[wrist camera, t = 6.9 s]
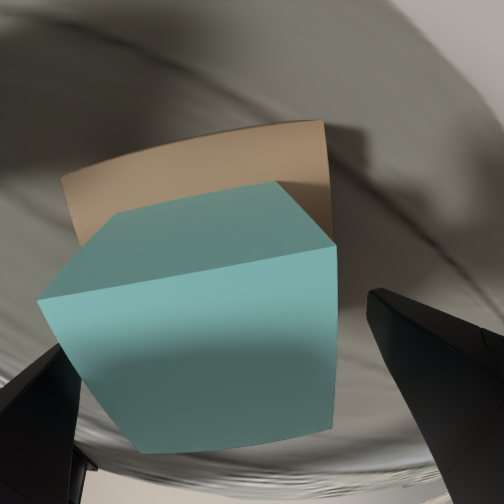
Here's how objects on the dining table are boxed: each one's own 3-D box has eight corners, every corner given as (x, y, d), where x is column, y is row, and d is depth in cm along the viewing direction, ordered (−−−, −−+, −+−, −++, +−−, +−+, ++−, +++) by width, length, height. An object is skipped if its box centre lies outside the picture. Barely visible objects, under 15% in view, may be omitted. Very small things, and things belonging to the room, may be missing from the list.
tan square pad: (318, 305, 17) (335, 339, 14) (147, 336, 16) (138, 372, 14) (301, 120, 13) (323, 120, 10) (88, 165, 12) (59, 177, 10)
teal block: (291, 316, 13) (331, 428, 8) (159, 339, 13) (141, 453, 7) (275, 180, 11) (336, 245, 5) (115, 213, 10) (36, 299, 5)
